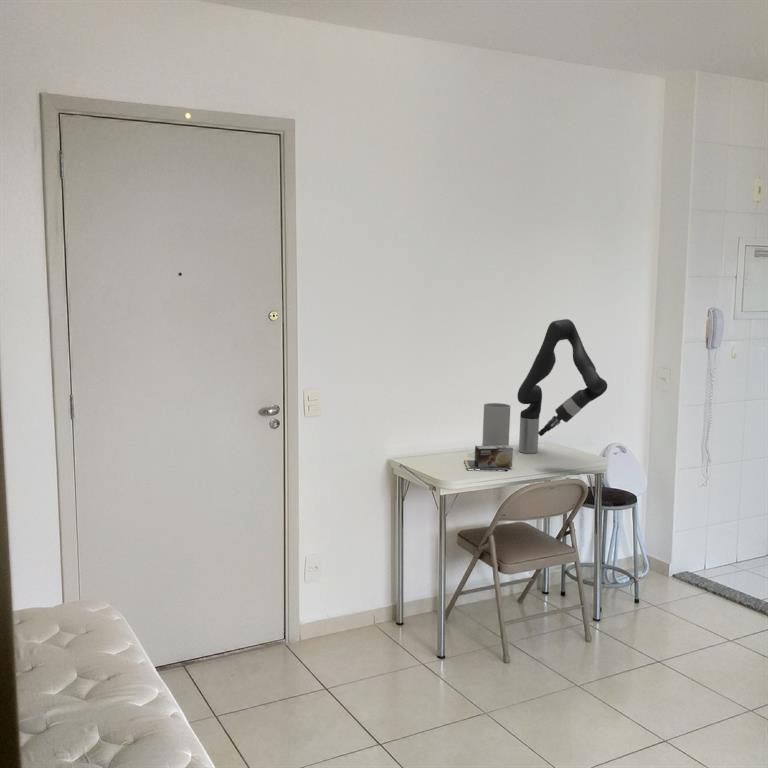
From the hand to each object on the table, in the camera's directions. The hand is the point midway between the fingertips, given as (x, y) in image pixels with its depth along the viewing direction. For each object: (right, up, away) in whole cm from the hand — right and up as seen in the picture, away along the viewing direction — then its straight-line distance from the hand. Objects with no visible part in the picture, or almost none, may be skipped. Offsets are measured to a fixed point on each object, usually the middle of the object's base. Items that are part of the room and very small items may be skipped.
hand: (539, 434), depth 355 cm
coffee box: (-12, -10, +3) cm, 16 cm away
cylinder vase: (-17, -12, +25) cm, 32 cm away
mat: (-24, -15, +5) cm, 28 cm away
